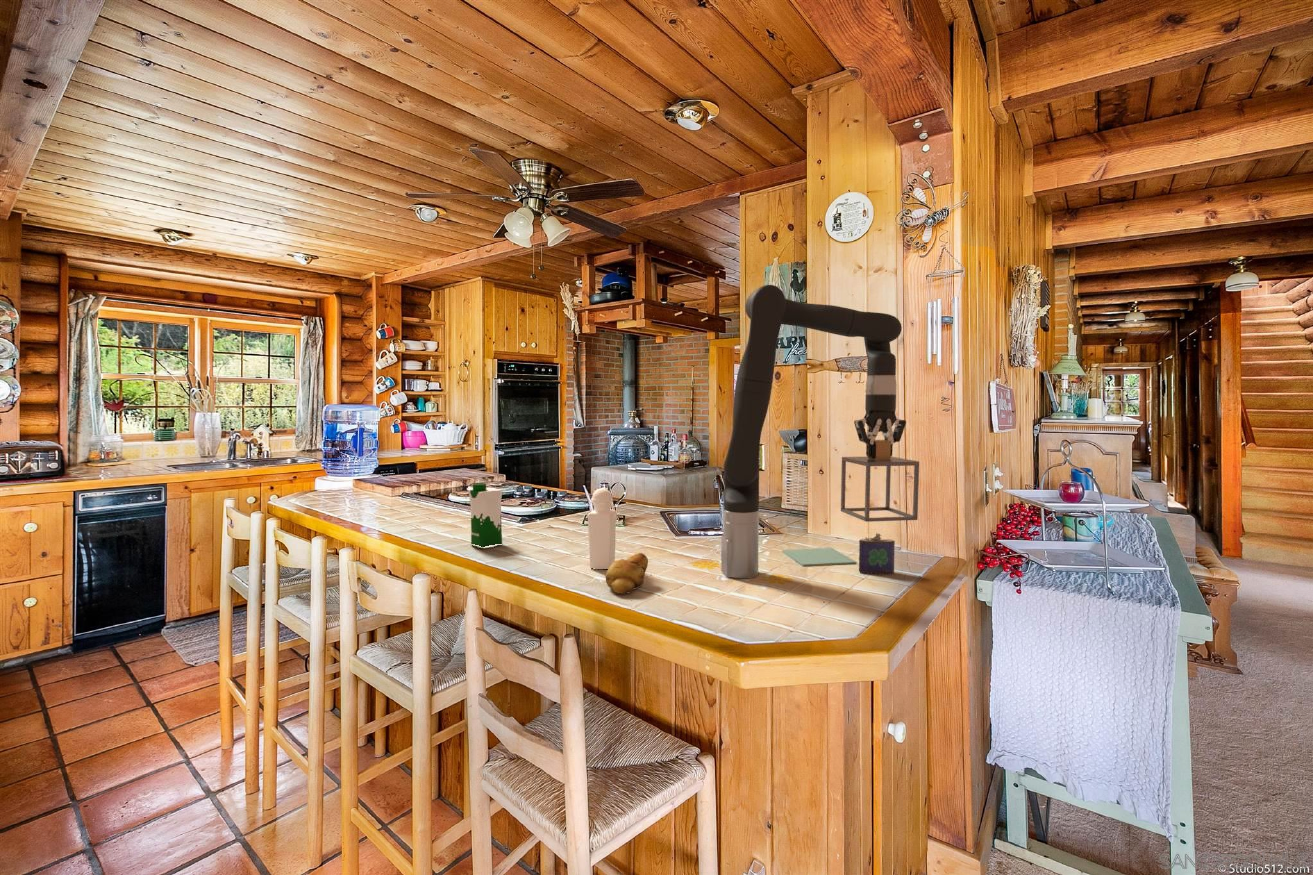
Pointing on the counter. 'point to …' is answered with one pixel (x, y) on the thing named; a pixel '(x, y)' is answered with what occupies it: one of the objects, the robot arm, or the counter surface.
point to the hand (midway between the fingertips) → (879, 458)
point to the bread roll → (627, 573)
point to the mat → (818, 557)
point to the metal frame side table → (883, 459)
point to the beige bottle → (602, 530)
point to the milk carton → (485, 515)
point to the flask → (876, 555)
